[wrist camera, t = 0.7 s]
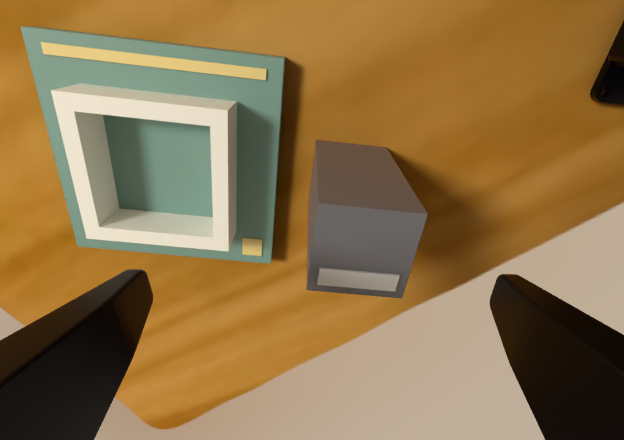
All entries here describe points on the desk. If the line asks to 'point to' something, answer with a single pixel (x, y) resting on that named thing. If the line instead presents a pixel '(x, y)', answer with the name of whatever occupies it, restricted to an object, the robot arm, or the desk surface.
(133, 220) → the socket
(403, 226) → the plug
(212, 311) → the desk surface
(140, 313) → the robot arm
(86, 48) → the board
